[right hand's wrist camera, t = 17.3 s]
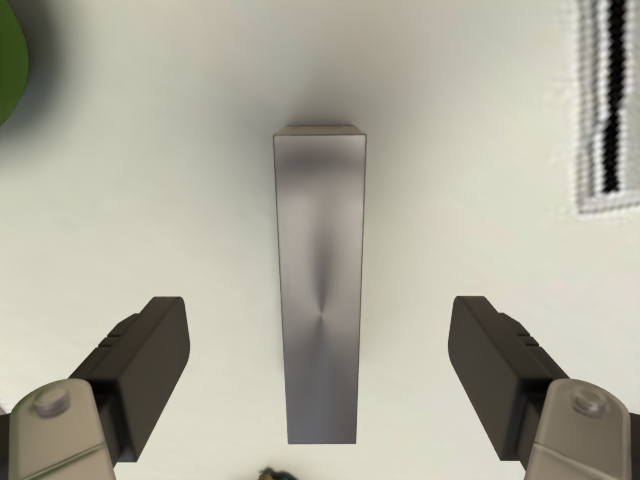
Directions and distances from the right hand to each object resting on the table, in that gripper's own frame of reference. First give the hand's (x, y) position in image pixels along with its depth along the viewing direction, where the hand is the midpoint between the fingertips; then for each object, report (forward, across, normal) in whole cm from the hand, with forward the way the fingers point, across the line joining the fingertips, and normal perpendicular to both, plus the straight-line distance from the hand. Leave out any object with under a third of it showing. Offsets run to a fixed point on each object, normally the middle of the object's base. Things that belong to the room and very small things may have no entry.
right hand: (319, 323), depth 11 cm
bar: (+24, 0, -9) cm, 25 cm away
